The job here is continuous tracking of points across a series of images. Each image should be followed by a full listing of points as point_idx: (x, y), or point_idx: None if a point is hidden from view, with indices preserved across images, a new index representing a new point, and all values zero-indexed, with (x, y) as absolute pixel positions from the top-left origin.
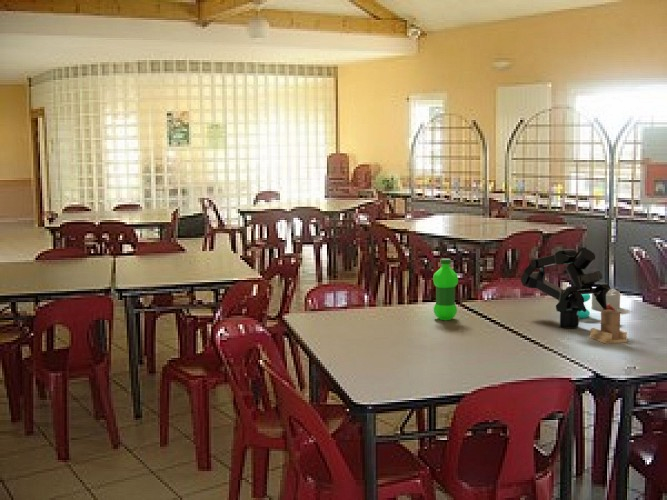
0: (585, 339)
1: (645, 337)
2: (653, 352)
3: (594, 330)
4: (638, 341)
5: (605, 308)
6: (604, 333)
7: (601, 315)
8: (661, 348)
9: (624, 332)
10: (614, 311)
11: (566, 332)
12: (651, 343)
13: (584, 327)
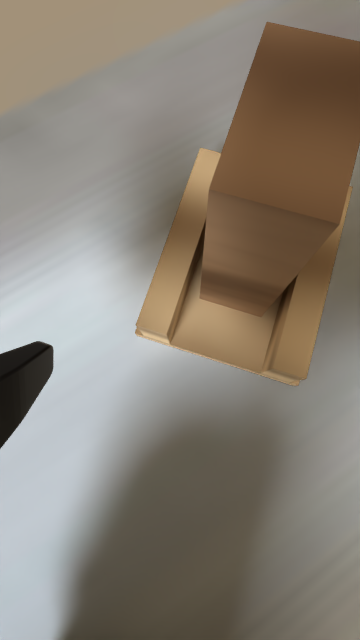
0: (350, 375)
1: (20, 181)
2: (286, 10)
3: (315, 333)
4: (138, 155)
5: (48, 356)
6: (341, 227)
7: (313, 252)
8: (186, 26)
9: (218, 152)
10: (278, 81)
11: (288, 617)
12: (128, 97)
13: (24, 627)
